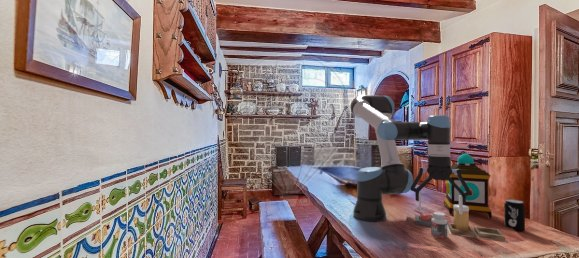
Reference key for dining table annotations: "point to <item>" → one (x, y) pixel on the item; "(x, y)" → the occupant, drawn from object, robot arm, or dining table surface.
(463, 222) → the amber capped bottle
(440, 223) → the pill bottle
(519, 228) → the beverage can
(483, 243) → the dining table surface
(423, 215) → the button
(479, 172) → the decorative lantern
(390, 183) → the robot arm
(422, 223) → the grey square frame
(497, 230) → the wooden divided tray
